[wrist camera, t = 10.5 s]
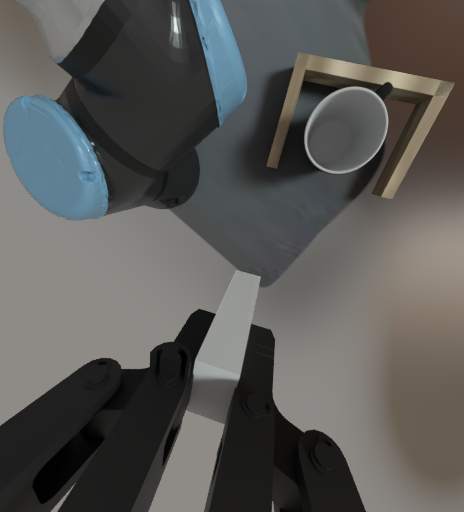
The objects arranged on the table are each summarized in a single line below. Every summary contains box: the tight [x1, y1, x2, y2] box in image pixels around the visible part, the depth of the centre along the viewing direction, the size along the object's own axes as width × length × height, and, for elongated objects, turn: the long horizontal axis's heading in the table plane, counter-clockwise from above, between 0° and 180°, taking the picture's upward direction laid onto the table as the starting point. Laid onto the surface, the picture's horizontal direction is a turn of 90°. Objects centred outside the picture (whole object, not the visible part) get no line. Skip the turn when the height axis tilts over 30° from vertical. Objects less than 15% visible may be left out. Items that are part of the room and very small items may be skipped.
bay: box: [267, 53, 454, 199], centre depth 32 cm, size 19×14×4 cm
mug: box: [303, 82, 393, 174], centre depth 29 cm, size 12×9×10 cm
